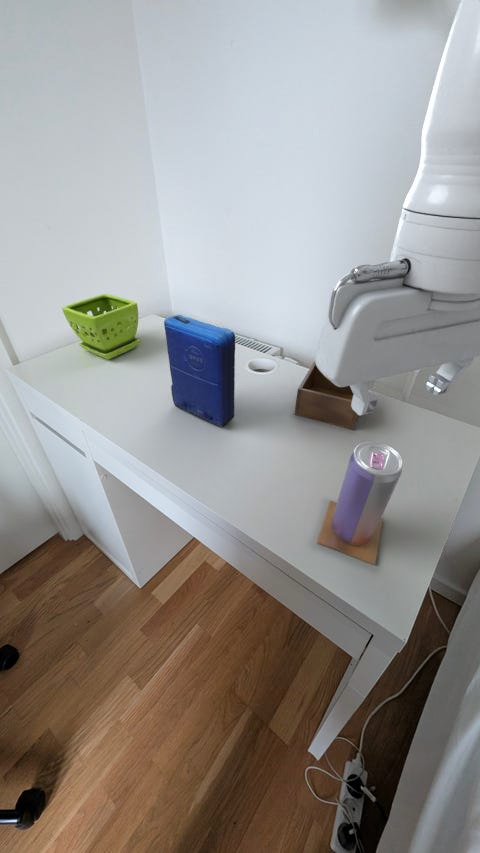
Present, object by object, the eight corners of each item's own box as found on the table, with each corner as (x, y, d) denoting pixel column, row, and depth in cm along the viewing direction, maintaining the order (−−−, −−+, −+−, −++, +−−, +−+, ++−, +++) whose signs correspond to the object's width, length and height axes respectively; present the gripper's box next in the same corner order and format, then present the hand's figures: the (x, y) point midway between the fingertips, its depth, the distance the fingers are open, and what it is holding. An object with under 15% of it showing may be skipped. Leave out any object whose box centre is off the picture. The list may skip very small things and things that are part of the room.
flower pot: (147, 346, 96) (138, 302, 88) (106, 366, 87) (93, 319, 79) (115, 334, 102) (104, 291, 94) (74, 351, 93) (58, 306, 85)
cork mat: (381, 520, 51) (382, 518, 51) (374, 565, 46) (375, 563, 46) (329, 502, 54) (330, 500, 54) (317, 543, 48) (317, 541, 48)
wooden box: (363, 398, 77) (370, 373, 72) (353, 430, 68) (360, 404, 64) (310, 385, 81) (313, 361, 76) (294, 414, 72) (297, 388, 68)
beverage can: (327, 539, 48) (349, 466, 39) (334, 507, 53) (355, 435, 43) (370, 553, 47) (404, 481, 37) (374, 519, 51) (405, 447, 41)
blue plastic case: (170, 407, 74) (155, 318, 61) (186, 396, 77) (176, 309, 64) (222, 432, 67) (218, 338, 54) (237, 419, 71) (237, 327, 58)
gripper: (364, 281, 21) (329, 444, 30) (583, 251, 26) (499, 397, 35) (313, 257, 26) (295, 405, 34) (509, 236, 31) (450, 368, 40)
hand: (400, 401), depth 35 cm, fingers open, 8 cm apart
